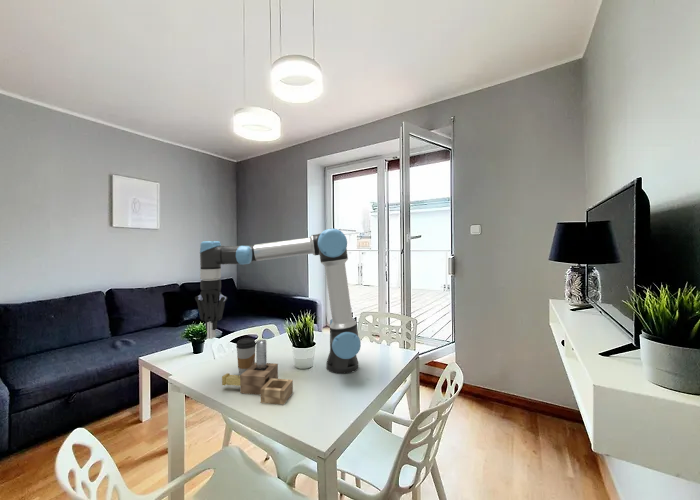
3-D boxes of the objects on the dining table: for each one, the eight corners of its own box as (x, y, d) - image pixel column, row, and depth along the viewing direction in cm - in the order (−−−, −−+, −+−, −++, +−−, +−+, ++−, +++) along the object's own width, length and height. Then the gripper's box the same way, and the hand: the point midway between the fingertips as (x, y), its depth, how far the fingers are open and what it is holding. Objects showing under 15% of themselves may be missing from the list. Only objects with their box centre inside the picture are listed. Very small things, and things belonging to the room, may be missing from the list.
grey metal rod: (268, 382, 123) (267, 339, 123) (264, 387, 119) (263, 343, 119) (259, 382, 124) (259, 339, 124) (254, 386, 120) (254, 342, 120)
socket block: (277, 379, 126) (277, 363, 126) (264, 395, 113) (264, 376, 113) (255, 378, 127) (255, 362, 127) (240, 393, 114) (240, 375, 114)
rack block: (292, 392, 115) (292, 379, 115) (284, 404, 106) (284, 390, 106) (270, 390, 116) (270, 378, 116) (260, 402, 107) (260, 389, 107)
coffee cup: (250, 378, 127) (249, 344, 127) (232, 377, 129) (232, 343, 128) (259, 370, 135) (259, 338, 135) (243, 369, 137) (242, 337, 137)
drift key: (257, 383, 118) (257, 375, 118) (253, 387, 114) (253, 378, 114) (226, 381, 120) (226, 373, 120) (222, 385, 116) (222, 376, 116)
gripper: (231, 278, 121) (232, 335, 121) (201, 278, 123) (202, 334, 123) (220, 280, 114) (221, 341, 114) (189, 280, 116) (190, 339, 116)
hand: (211, 337), depth 119 cm, fingers closed
